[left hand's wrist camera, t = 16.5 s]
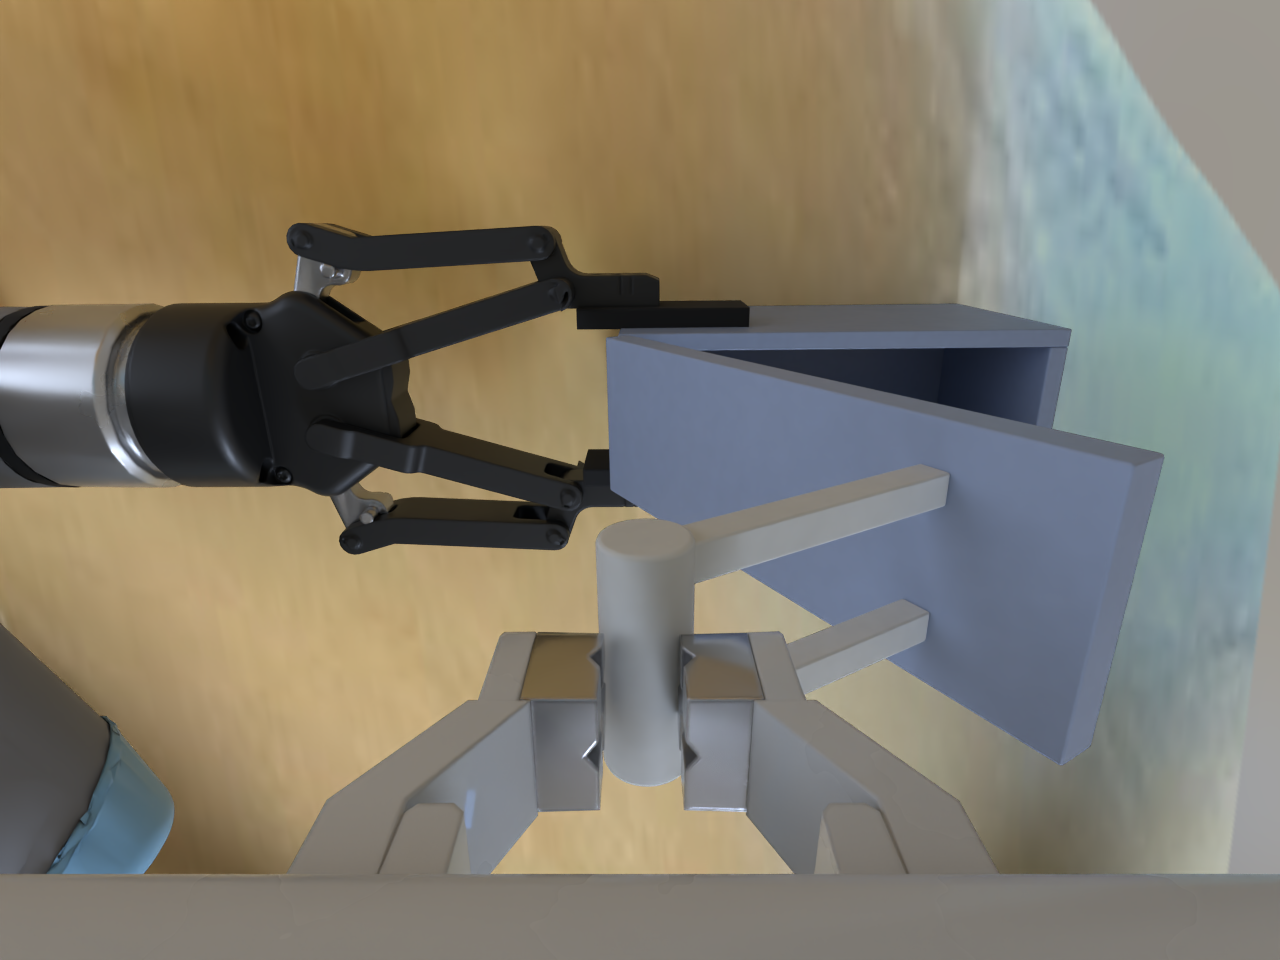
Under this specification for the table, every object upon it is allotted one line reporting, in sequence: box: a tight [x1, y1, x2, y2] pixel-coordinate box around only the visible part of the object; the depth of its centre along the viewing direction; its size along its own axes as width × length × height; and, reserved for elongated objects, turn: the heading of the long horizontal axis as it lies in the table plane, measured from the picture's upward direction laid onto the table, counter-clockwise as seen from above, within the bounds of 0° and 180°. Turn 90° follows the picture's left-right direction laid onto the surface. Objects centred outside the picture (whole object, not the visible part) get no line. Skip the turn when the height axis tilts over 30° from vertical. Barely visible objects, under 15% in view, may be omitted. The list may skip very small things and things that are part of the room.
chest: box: [618, 304, 1071, 429], centre depth 30 cm, size 16×6×10 cm, turn 91°
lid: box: [596, 335, 1164, 787], centre depth 16 cm, size 17×6×8 cm
